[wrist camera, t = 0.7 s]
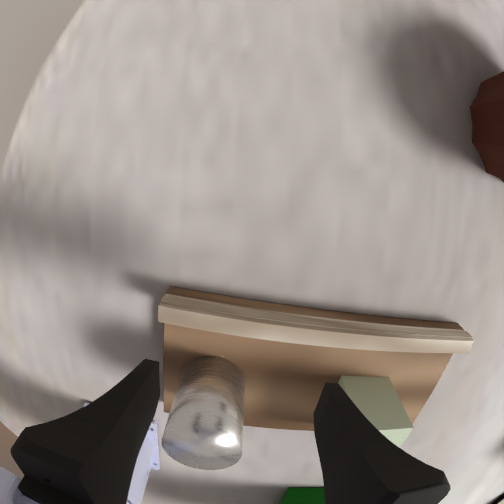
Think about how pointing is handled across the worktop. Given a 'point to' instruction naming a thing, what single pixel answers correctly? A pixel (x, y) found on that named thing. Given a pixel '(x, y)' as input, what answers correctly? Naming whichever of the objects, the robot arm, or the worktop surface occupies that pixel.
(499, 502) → the milk container
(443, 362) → the shelf board
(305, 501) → the milk carton
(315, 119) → the worktop surface
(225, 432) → the metal can
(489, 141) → the muffin
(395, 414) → the tea box
